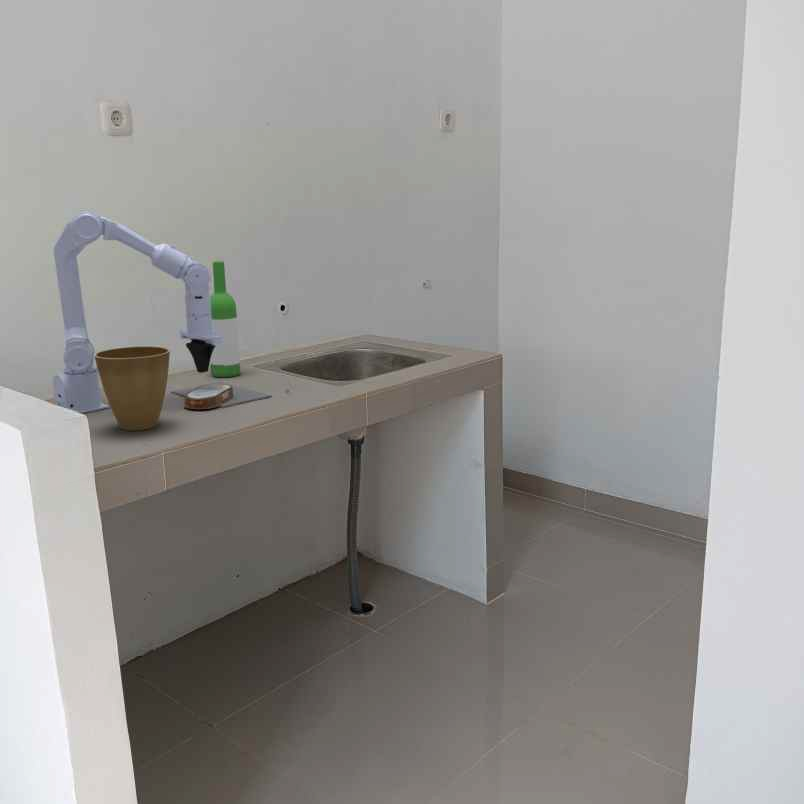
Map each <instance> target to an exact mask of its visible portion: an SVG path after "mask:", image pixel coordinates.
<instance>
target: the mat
mask: <svg viewBox="0 0 804 804" xmlns="http://www.w3.org/2000/svg"><path fill="white" fill-rule="evenodd" d="M208 384H220V385H231V386H232V388H233V396H234V397H233V398H232V399H230V400H228V401H227V402H225V403H223V404H222V405H220V406H218V407H217V408H221V409H223V408H229V407H232V406H238V405H241V403H242V404H246V402H247V403H251V402H255V401H254V400H256V401H259V399H260V400H264V399H263V398H265V399H268V398H267V397H269V398H272V397H273V395H272V394H269V393H264V392H261V391H257V390H254V389H249V388H245V387H242V386H237V385H234V384H230V383H226V382H222V381H216V382H211V383H207V384H206V383H205V384H202V385H201V384H200V385H196V386H192V387H187V388H181V389H176V390H171V391H170V393H171V394H173V393H174V395H178V396H181V397H184V396H185V394H187V393H188V392H190V391H192V390H194V389H196V388H198V387H200V386H203V385H208ZM250 401H251V402H250ZM237 404H238V405H237ZM228 406H229V407H228Z"/></svg>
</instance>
